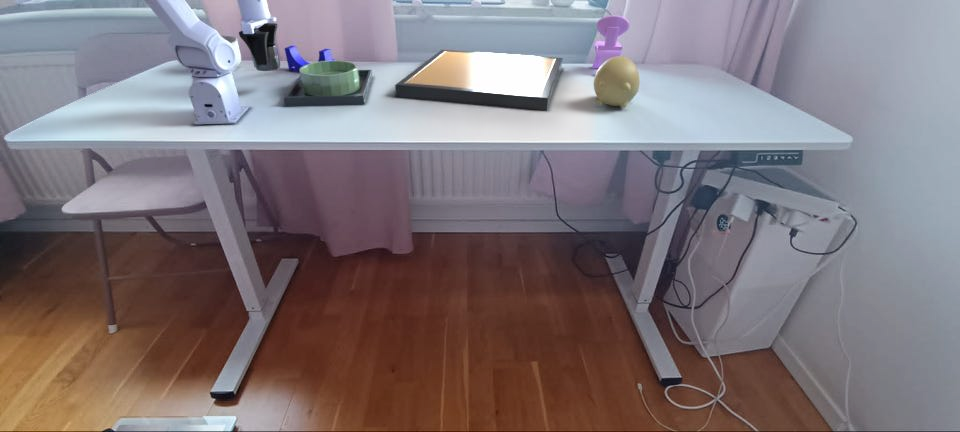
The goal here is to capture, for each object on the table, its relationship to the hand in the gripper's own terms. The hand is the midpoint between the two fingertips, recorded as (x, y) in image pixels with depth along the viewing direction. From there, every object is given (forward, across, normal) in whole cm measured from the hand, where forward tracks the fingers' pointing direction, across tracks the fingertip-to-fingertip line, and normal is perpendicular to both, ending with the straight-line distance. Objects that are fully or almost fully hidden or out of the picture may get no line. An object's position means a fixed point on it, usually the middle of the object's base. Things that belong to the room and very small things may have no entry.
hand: (266, 60), depth 105 cm
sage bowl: (+8, +1, -14) cm, 15 cm away
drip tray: (+8, +1, -14) cm, 15 cm away
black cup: (+2, 0, 0) cm, 2 cm away
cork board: (+8, +6, -52) cm, 53 cm away
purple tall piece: (+8, +12, -86) cm, 87 cm away
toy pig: (+8, -14, -78) cm, 80 cm away
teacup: (+8, +22, +20) cm, 31 cm away
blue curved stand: (+8, +19, -6) cm, 21 cm away
